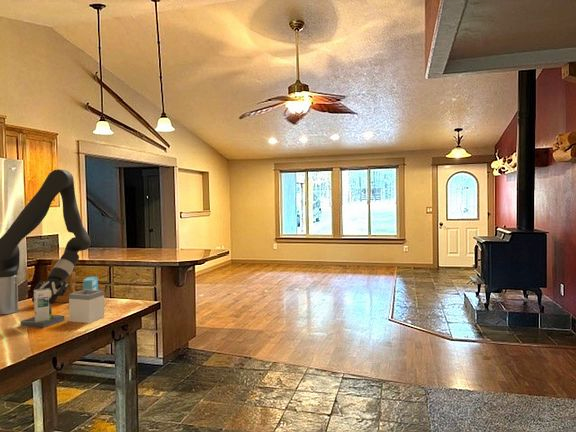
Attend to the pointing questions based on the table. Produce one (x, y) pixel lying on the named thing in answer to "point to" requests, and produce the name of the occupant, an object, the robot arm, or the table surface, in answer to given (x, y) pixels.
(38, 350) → the table surface
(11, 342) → the table surface
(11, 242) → the robot arm
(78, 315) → the raised dock
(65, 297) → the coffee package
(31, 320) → the lower collar
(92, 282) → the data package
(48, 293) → the syrup box
